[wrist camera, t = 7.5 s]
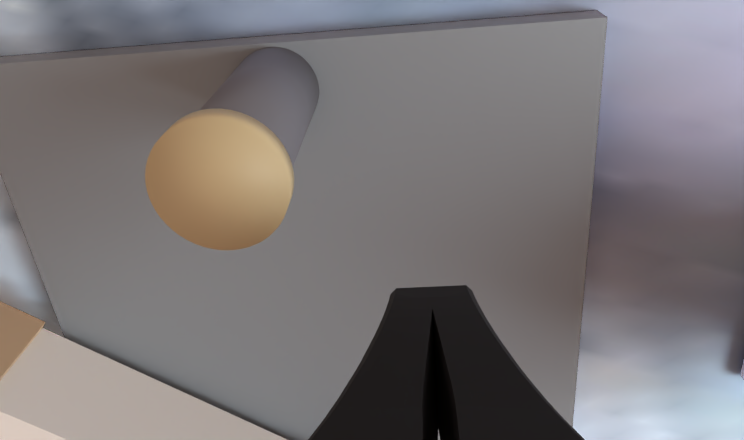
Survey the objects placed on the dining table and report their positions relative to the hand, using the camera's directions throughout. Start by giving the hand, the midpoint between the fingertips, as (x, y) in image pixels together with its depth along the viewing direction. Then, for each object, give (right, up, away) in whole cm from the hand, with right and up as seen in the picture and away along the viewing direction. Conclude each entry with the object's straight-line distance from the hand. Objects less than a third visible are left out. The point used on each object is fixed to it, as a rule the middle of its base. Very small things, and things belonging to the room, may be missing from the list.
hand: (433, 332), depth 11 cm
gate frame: (-3, -1, +11) cm, 12 cm away
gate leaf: (-9, -4, +12) cm, 15 cm away
